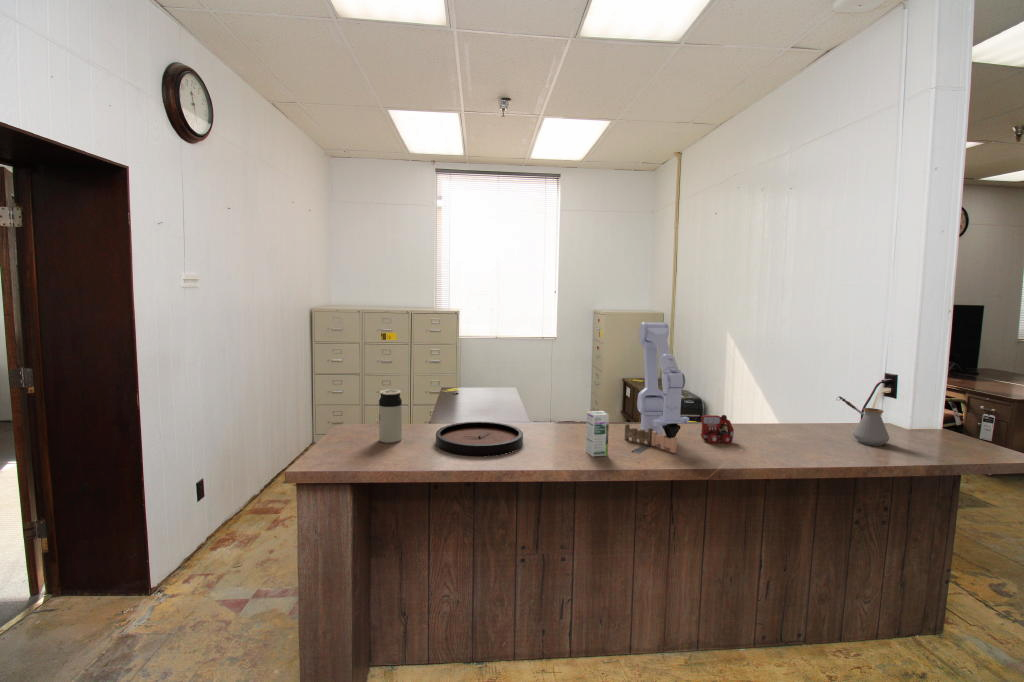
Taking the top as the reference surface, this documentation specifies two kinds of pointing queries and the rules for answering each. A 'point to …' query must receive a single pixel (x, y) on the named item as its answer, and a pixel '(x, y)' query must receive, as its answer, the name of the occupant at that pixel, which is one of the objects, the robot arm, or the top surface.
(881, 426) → the coffee pot
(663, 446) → the folding fence panel
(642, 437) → the fixed fence section
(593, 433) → the syrup box
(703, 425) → the toy fire truck
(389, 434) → the travel mug
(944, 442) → the top surface
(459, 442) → the wall clock
